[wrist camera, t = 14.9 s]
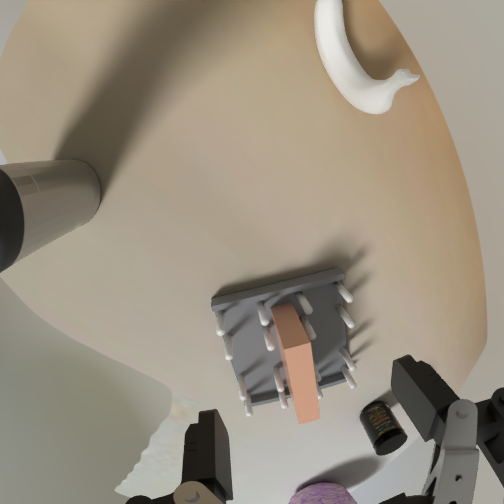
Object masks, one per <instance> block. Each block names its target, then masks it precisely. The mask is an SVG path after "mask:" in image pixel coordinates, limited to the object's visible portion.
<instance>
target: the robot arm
mask: <svg viewBox="0 0 504 504" xmlns="http://www.w3.org/2000/svg"><path fill="white" fill-rule="evenodd" d="M100 199H101V188H100V183H99V180H98V177H97V175H96V173H95V172H94V170H93V169H92V168H91V167H90V166H89V165H88V164H86V163H85V162H82V161H80V160H52V161H37V162H25V163H14V164H6V165H0V273H1V272H2V271H4V270H5V269H7V268H8V267H10V266H11V265H13V264H14V263H16V262H18V261H19V260H21V259H23V258H24V257H26V256H28V255H29V254H31V253H32V252H34V251H36V250H38V249H39V248H41V247H43V246H45V245H46V244H48V243H50V242H52V241H54V240H55V239H57V238H59V237H61V236H63V235H65V234H67V233H68V232H71V231H72V230H74V229H76V228H78V227H80V226H82V225H84V224H85V223H87V222H89V221H90V220H91V219H92V218H93V216H94V215H95V213H96V212H97V209H98V207H99V204H100ZM391 388H392V391H393V394H394V395H395V397H396V398H397V400H398V401H399V403H400V404H401V406H402V407H403V409H404V410H405V412H406V413H407V415H408V416H409V418H410V419H411V421H412V422H413V424H414V425H415V427H416V429H417V430H418V432H419V433H420V435H421V436H422V438H423V439H424V441H425V442H427V441H428V440H430V439H432V438H433V439H434V441H435V445H434V450H433V454H432V459H431V464H430V468H429V472H428V476H427V479H426V482H425V484H424V487H423V490H422V493H421V495H415V496H407V497H406V495H405V493H402V494H399V495H397V496H395V497H393V498H390V499H388V500H386V501H383V502H381V503H379V504H472V500H473V495H474V490H475V484H476V477H477V470H478V462H479V450H478V449H476V445H478V446H479V448H480V449H481V450H482V452H483V454H484V455H485V457H486V459H487V460H488V462H489V463H490V465H491V467H492V468H493V470H494V472H495V473H496V475H497V477H498V478H499V480H500V482H501V484H502V485H503V487H504V388H500V389H497V390H496V391H495V392H494V393H493V395H492V397H491V399H488V400H484V401H481V402H478V403H473V402H471V401H470V400H467V399H460V398H459V397H458V396H457V395H456V394H455V393H454V391H453V390H452V389H451V388H450V387H449V386H448V385H447V383H446V382H445V381H444V380H443V379H441V377H440V376H439V374H438V373H436V371H435V370H434V369H433V368H432V367H431V365H429V364H427V363H425V362H423V361H419V362H416V361H415V360H414V359H413V357H412V356H411V355H405V356H403V357H401V358H398V359H396V360H394V361H393V367H392V377H391ZM184 443H185V445H184V454H183V468H182V481H181V484H180V485H179V486H178V487H177V488H176V490H175V491H174V492H173V493H171V494H169V495H166V496H163V497H159V498H156V499H152V500H151V499H150V498H149V497H146V496H142V495H139V496H134V497H132V498H130V499H129V500H128V501H127V502H126V504H226V501H227V500H233V491H232V478H231V463H230V447H229V437H228V432H227V429H226V427H225V425H224V423H223V421H222V419H221V417H220V415H219V412H218V410H217V409H213V410H206V411H200V412H199V420H198V423H195V424H190V426H189V427H188V429H187V431H186V433H185V441H184ZM503 501H504V500H503Z"/></svg>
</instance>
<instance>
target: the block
mask: <svg viewBox="0 0 504 504" xmlns="http://www.w3.org/2000/svg"><path fill="white" fill-rule="evenodd" d="M270 309H271V313H272V318H273V322H274V327H275V331H276V336H277V341H278V345H279V350H280V354H281V359H282V364H283V368H284V373H285V377H286V381H287V385H288V388H289V392H290V395H291V398H292V402H293V405H294V409H295V412H296V415H297V419H298V422H299V424H302V423H306V422H310V421H313V420H317V419H320V412H319V403H318V395H317V387H316V379H315V371H314V364H313V356H312V349H311V342H310V340H309V338H308V336H307V334H306V332H305V330H304V328H303V325H302V323H301V321H300V319H299V317H298V315H297V313H296V311H295V309H294V307H293V305H292V302H290V303H286V304H282V305H278V306H274V307H270Z"/></svg>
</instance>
